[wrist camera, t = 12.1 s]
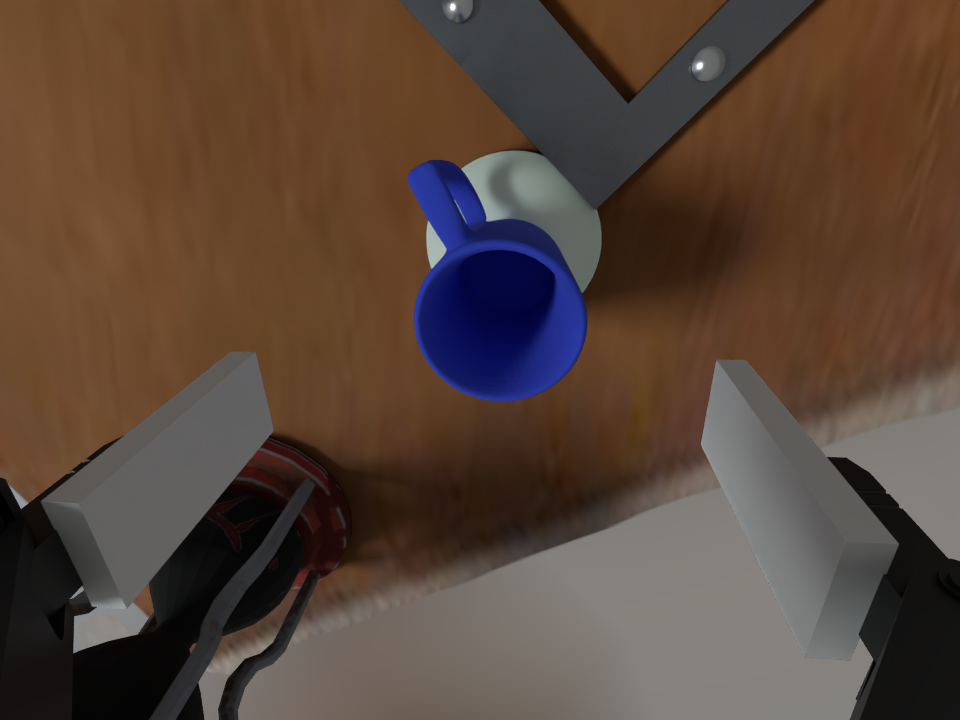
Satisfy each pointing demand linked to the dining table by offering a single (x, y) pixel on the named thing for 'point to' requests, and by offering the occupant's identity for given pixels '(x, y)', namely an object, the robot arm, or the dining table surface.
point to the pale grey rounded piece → (534, 207)
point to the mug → (493, 296)
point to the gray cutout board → (594, 80)
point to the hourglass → (220, 592)
